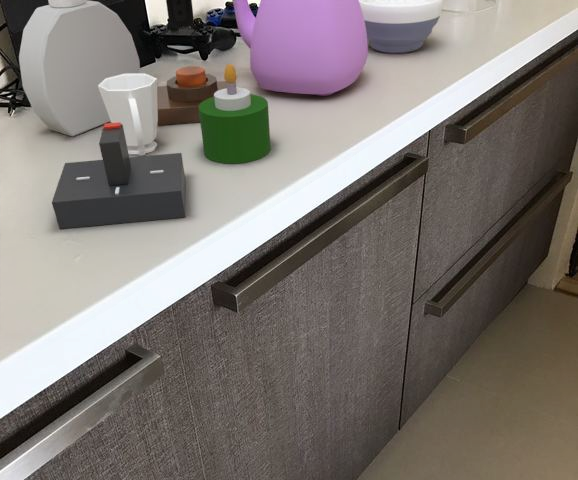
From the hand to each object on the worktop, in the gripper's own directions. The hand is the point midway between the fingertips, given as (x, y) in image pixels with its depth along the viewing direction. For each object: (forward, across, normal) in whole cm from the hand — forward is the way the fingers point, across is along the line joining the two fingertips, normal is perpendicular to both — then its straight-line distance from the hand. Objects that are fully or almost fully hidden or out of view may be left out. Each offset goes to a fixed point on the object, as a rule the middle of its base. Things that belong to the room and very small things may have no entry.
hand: (182, 25), depth 87 cm
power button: (+7, 0, 0) cm, 7 cm away
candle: (+11, +16, +5) cm, 20 cm away
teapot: (+11, -8, +17) cm, 22 cm away
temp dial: (+8, +28, -8) cm, 30 cm away
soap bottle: (+11, +1, -14) cm, 18 cm away
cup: (+11, +14, -7) cm, 19 cm away
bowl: (+11, -24, +35) cm, 44 cm away
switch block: (+11, 0, 0) cm, 11 cm away
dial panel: (+11, +28, -8) cm, 31 cm away
